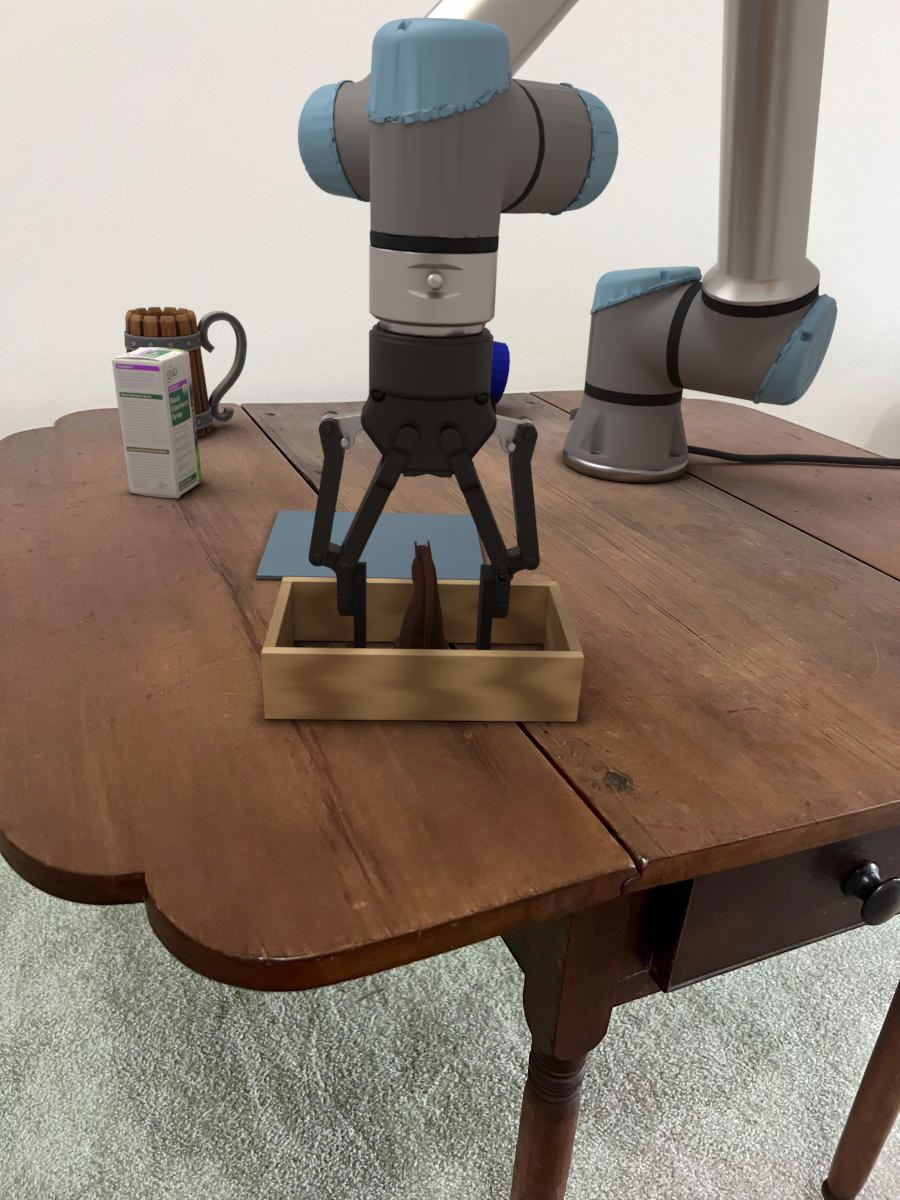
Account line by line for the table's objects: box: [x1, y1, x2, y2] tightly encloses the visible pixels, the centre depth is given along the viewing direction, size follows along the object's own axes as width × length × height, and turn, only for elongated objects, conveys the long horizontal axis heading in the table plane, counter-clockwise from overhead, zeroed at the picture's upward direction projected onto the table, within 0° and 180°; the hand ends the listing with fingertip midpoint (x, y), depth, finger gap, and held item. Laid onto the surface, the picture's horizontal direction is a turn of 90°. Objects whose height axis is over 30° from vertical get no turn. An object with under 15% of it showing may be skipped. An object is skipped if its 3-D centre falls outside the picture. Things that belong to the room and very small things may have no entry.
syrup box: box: [111, 347, 203, 499], centre depth 96 cm, size 6×6×14 cm
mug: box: [123, 306, 248, 439], centre depth 116 cm, size 16×11×15 cm
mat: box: [255, 509, 485, 581], centre depth 87 cm, size 20×16×1 cm
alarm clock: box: [484, 324, 511, 415], centre depth 131 cm, size 12×12×15 cm
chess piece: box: [393, 541, 449, 650], centre depth 64 cm, size 5×5×10 cm
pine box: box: [260, 577, 585, 723], centre depth 65 cm, size 21×12×5 cm, turn 93°
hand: (421, 654), depth 65 cm, fingers open, 8 cm apart
